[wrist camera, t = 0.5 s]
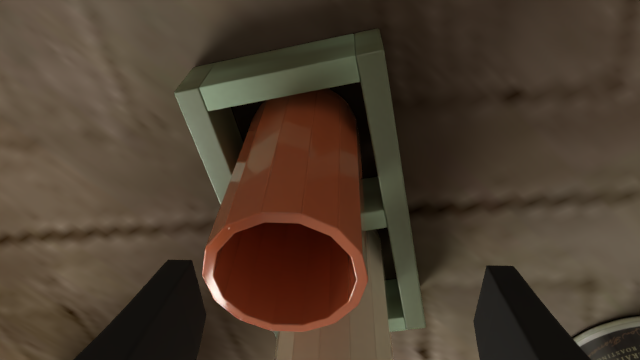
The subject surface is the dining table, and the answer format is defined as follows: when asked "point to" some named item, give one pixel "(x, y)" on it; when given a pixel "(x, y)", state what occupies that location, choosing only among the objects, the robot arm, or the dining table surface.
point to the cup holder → (299, 77)
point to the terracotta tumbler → (292, 218)
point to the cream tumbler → (349, 323)
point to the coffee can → (612, 340)
